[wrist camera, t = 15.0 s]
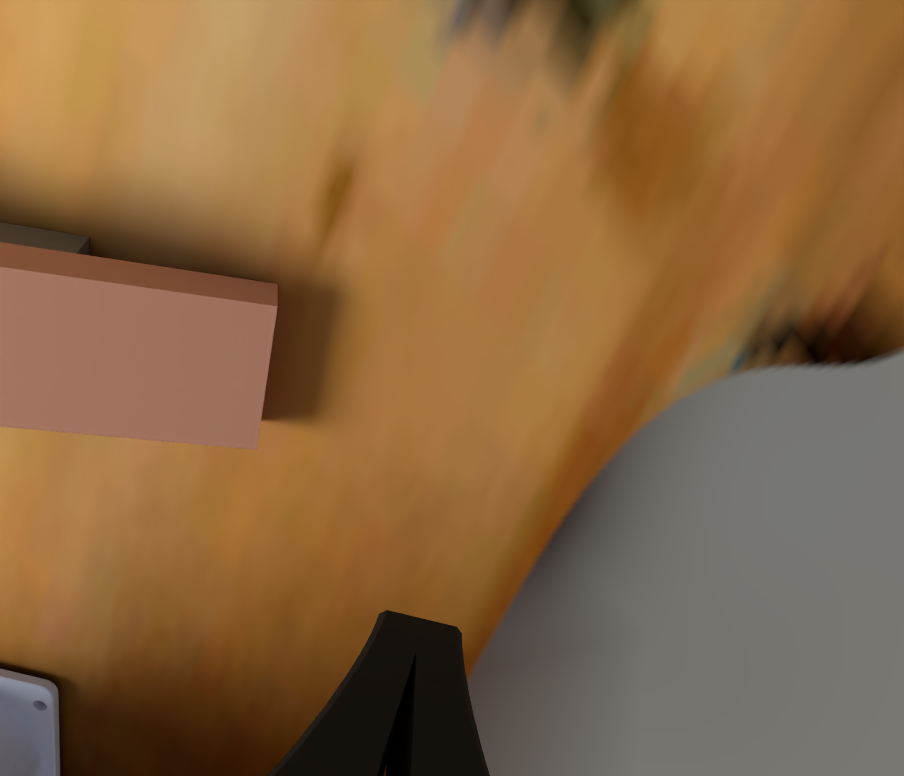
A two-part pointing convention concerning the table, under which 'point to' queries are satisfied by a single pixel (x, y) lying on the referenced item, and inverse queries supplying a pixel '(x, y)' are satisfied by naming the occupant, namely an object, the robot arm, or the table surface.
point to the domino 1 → (43, 239)
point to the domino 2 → (132, 349)
